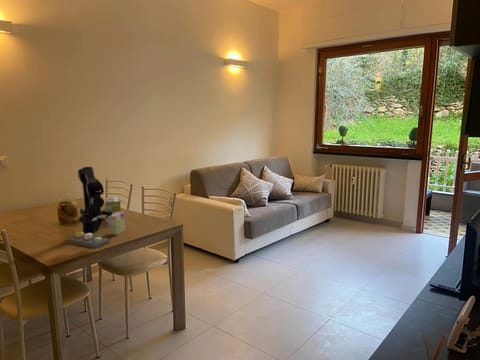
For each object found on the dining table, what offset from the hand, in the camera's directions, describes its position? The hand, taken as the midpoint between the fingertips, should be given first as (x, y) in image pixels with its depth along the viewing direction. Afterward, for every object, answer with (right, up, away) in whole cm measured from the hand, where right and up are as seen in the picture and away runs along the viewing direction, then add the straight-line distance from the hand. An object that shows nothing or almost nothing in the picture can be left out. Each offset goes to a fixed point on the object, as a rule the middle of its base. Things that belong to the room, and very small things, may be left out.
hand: (96, 230), depth 200 cm
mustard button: (-13, -5, +7) cm, 15 cm away
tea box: (-8, 0, +50) cm, 51 cm away
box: (+4, -4, +23) cm, 23 cm away
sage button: (0, -7, +1) cm, 7 cm away
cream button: (-6, -5, +4) cm, 9 cm away
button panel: (-6, -7, +4) cm, 10 cm away
